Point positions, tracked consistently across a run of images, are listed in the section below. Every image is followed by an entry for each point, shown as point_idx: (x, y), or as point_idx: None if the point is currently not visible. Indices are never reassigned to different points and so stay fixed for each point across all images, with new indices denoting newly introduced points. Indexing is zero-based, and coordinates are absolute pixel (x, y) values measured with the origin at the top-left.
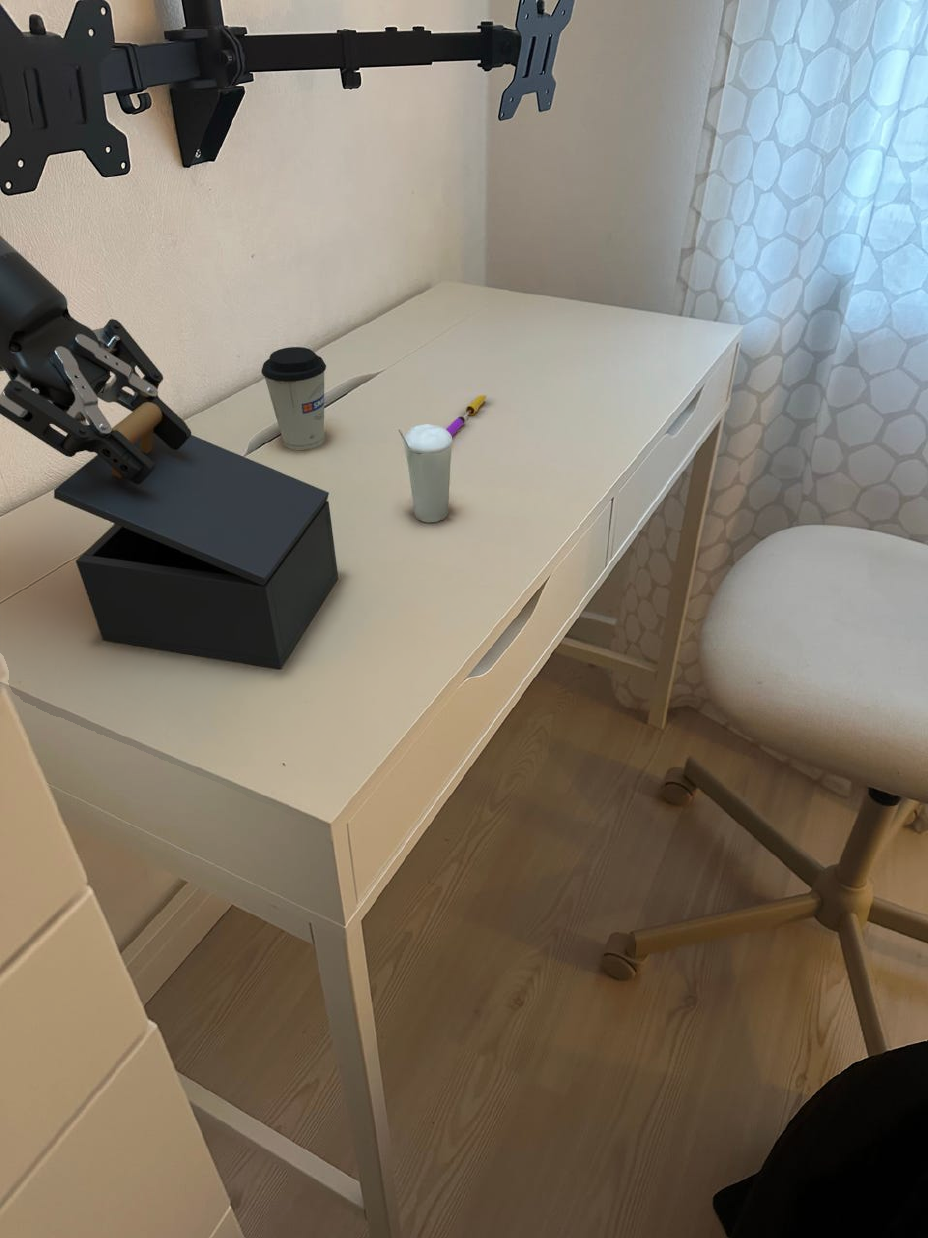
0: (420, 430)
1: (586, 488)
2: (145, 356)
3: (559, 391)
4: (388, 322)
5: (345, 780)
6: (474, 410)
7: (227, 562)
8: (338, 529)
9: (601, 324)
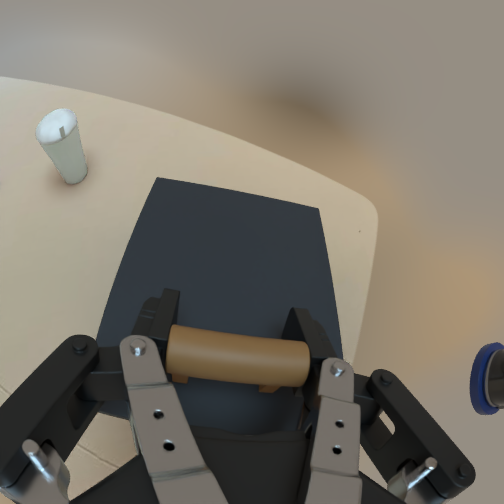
0: (50, 124)
1: (69, 95)
2: (40, 373)
3: None
4: None
5: (359, 199)
6: None
7: (323, 235)
8: (85, 242)
9: None
